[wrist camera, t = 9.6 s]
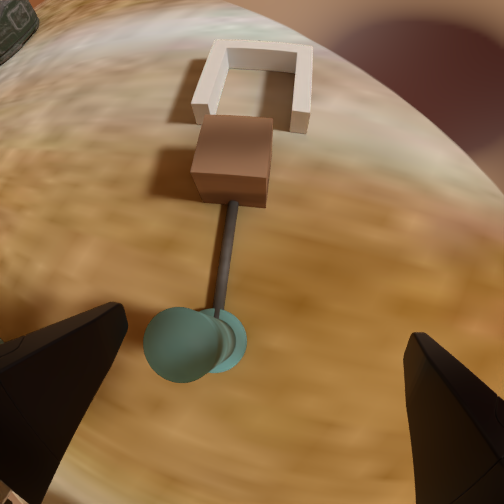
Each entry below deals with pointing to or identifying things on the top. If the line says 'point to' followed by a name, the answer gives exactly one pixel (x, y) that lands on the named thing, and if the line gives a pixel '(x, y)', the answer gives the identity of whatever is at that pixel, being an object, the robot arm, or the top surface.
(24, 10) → the canister
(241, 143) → the tethered block
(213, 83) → the lane
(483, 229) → the top surface
